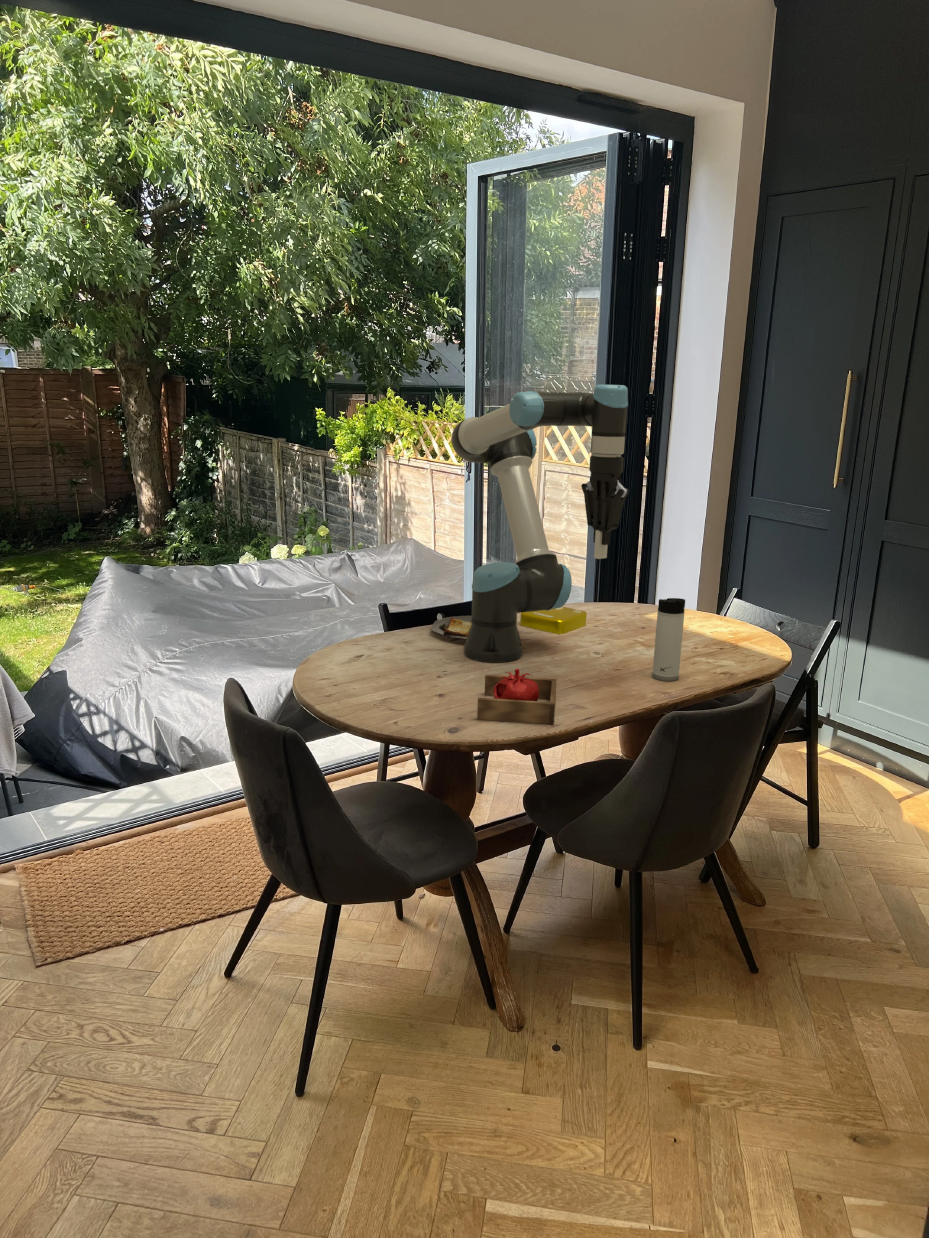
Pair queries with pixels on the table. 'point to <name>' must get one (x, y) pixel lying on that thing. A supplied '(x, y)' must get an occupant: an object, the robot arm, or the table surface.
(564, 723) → the table surface
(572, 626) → the element tile
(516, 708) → the box
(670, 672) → the travel mug
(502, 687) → the pomegranate
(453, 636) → the food plate
